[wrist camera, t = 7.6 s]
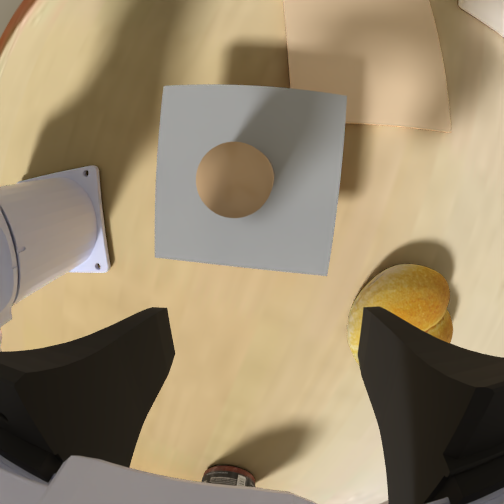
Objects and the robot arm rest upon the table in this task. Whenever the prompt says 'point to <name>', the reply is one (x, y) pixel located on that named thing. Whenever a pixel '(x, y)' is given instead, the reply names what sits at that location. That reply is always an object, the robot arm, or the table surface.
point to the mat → (371, 59)
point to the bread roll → (405, 301)
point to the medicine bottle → (486, 12)
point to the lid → (249, 176)
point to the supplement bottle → (228, 476)
